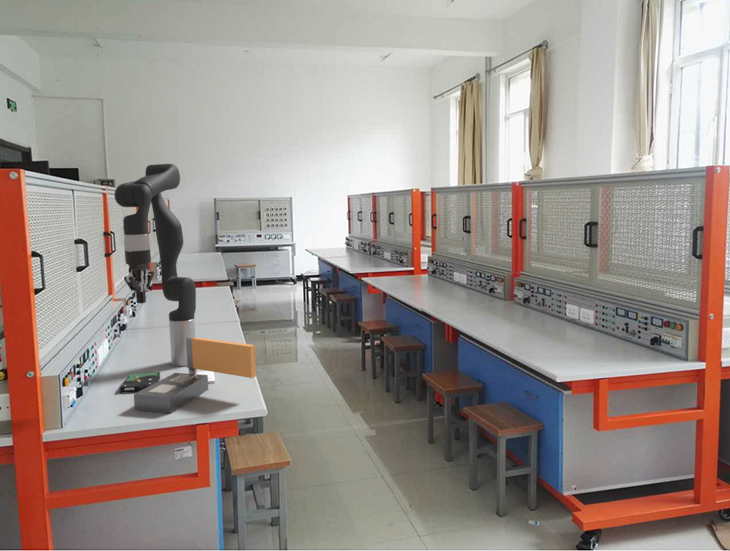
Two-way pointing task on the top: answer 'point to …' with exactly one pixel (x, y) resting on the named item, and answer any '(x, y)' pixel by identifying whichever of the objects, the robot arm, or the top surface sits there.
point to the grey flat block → (170, 393)
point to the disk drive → (139, 381)
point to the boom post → (192, 371)
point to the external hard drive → (210, 375)
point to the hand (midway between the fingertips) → (141, 302)
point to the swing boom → (221, 356)
